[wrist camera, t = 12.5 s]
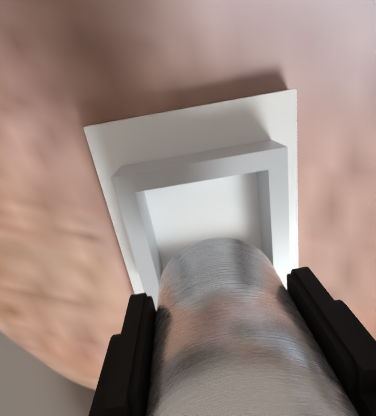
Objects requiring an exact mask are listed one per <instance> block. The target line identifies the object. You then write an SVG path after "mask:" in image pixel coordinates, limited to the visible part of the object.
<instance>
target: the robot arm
mask: <svg viewBox="0 0 376 416" xmlns="http://www.w3.org/2000/svg"><path fill="white" fill-rule="evenodd" d="M287 291H288V293H289V295H290V296H291V298H292V300H293V302H294V303H295V305H296V307H297V309H298V310H299V312H300V314H301V316H302V317H303V319H304V321H305V322H306V324H307V326H308V328H309V329H310V331H311V333H312V335H313V336H314V338H315V340H316V342H317V343H318V345H319V347H320V349H321V350H322V352H323V354H324V356H325V357H326V359H327V361H328V362H329V364H330V366H331V368H332V369H333V371H334V373H335V375H336V376H337V378H338V380H339V382H340V383H341V385H342V387H343V389H344V390H345V392H346V394H347V396H348V397H349V399H350V401H351V402H352V404H353V406H354V408H355V409H356V411H357V413H358V415H359V416H376V341H375V339H374V338H373V337H372V336H371V335H370V333H369V332H368V331H367V330H366V328H365V327H364V326H363V325H362V324H361V322H360V321H359V320H358V319H357V318H356V316H355V315H354V314H353V313H352V311H351V310H350V309H349V308H348V307H347V305H346V304H345V303H344V302H343V301H341V300H334V299H333V298H332V297H331V296H330V294H329V293H328V292H327V290H326V289H325V288H324V287H323V285H322V284H321V283H320V282H319V280H318V279H317V278H316V276H315V275H314V274H313V273H312V271H311V270H310V269H309V268H308V267H302V268H296V269H292V270H291V273H290V274H287ZM155 321H156V309H155V305H154V302H153V298H152V296H147V294H146V293H140V294H133V295H131V296H130V299H129V303H128V307H127V311H126V315H125V319H124V323H123V327H122V331H121V334H116V335H113V336H112V337H111V339H110V342H109V346H108V349H107V353H106V356H105V360H104V363H103V367H102V370H101V374H100V377H99V381H98V385H97V388H96V392H95V396H94V399H93V403H92V406H91V410H90V413H89V416H146V410H147V400H148V390H149V380H150V370H151V361H152V351H153V341H154V331H155Z"/></svg>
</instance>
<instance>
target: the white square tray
mask: <svg viewBox="0 0 376 416" xmlns="http://www.w3.org/2000/svg"><path fill="white" fill-rule="evenodd" d="M83 128H84V132H85V135H86V138H87V141H88V145H89V148H90V151H91V154H92V158H93V161H94V164H95V167H96V170H97V174H98V177H99V180H100V183H101V187H102V190H103V193H104V196H105V200H106V203H107V206H108V209H109V212H110V216H111V219H112V222H113V225H114V229H115V232H116V235H117V238H118V242H119V245H120V248H121V251H122V255H123V258H124V261H125V264H126V267H127V271H128V274H129V277H130V280H131V284H132V287H133V290H134V293H135V294H140V293H146V294H147V296H152V298H153V302H154V305H155V309H156V312H157V302H158V292H159V283H160V278H161V275H162V273H163V271H164V269H165V267H166V265H167V264H168V262H169V261H170V260H171V259H172V258H173V257H174V256H175V255H176V254H177V253H178V252H180V251H181V250H183V249H184V248H186V247H187V246H189V245H191V244H194V243H196V242H199V241H202V240H206V239H212V238H232V239H237V240H241V241H244V242H247V243H249V244H251V245H253V246H255V247H256V248H258V249H259V250H260V251H262V252H263V253H264V254H265V255H266V256H267V258H268V259H269V260H270V262H271V263H272V265H273V267H274V269H275V270H276V272H277V274H278V276H279V277H280V279H281V281H282V282H283V284H284V286H285V288H286V289H287V274H290V273H291V270H292V269H296V268H298V190H297V89H288V90H282V91H277V92H271V93H266V94H260V95H255V96H249V97H244V98H238V99H233V100H227V101H222V102H216V103H211V104H205V105H199V106H194V107H188V108H183V109H177V110H172V111H166V112H161V113H155V114H150V115H144V116H139V117H133V118H128V119H122V120H117V121H111V122H106V123H100V124H95V125H89V126H86V127H83Z"/></svg>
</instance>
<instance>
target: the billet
mask: <svg viewBox="0 0 376 416" xmlns="http://www.w3.org/2000/svg"><path fill="white" fill-rule="evenodd" d="M146 416H359V415H358V413H357V411H356V409H355V408H354V406H353V404H352V402H351V401H350V399H349V397H348V396H347V394H346V392H345V390H344V389H343V387H342V385H341V383H340V382H339V380H338V378H337V376H336V375H335V373H334V371H333V369H332V368H331V366H330V364H329V362H328V361H327V359H326V357H325V356H324V354H323V352H322V350H321V349H320V347H319V345H318V343H317V342H316V340H315V338H314V336H313V335H312V333H311V331H310V329H309V328H308V326H307V324H306V322H305V321H304V319H303V317H302V316H301V314H300V312H299V310H298V309H297V307H296V305H295V303H294V302H293V300H292V298H291V296H290V295H289V293H288V291H287V289H286V288H285V286H284V284H283V282H282V281H281V279H280V277H279V276H278V274H277V272H276V270H275V269H274V267H273V265H272V263H271V262H270V260H269V259H268V258H267V256H266V255H265V254H264V253H263V252H262V251H260V250H259V249H258V248H256V247H255V246H253V245H251V244H249V243H247V242H244V241H241V240H237V239H232V238H212V239H206V240H202V241H199V242H196V243H194V244H191V245H189V246H187V247H186V248H184V249H183V250H181V251H180V252H178V253H177V254H176V255H175V256H174V257H173V258H172V259H171V260H170V261H169V262H168V264H167V265H166V267H165V269H164V271H163V273H162V275H161V278H160V283H159V292H158V302H157V312H156V321H155V331H154V341H153V351H152V361H151V370H150V380H149V390H148V400H147V410H146Z"/></svg>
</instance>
